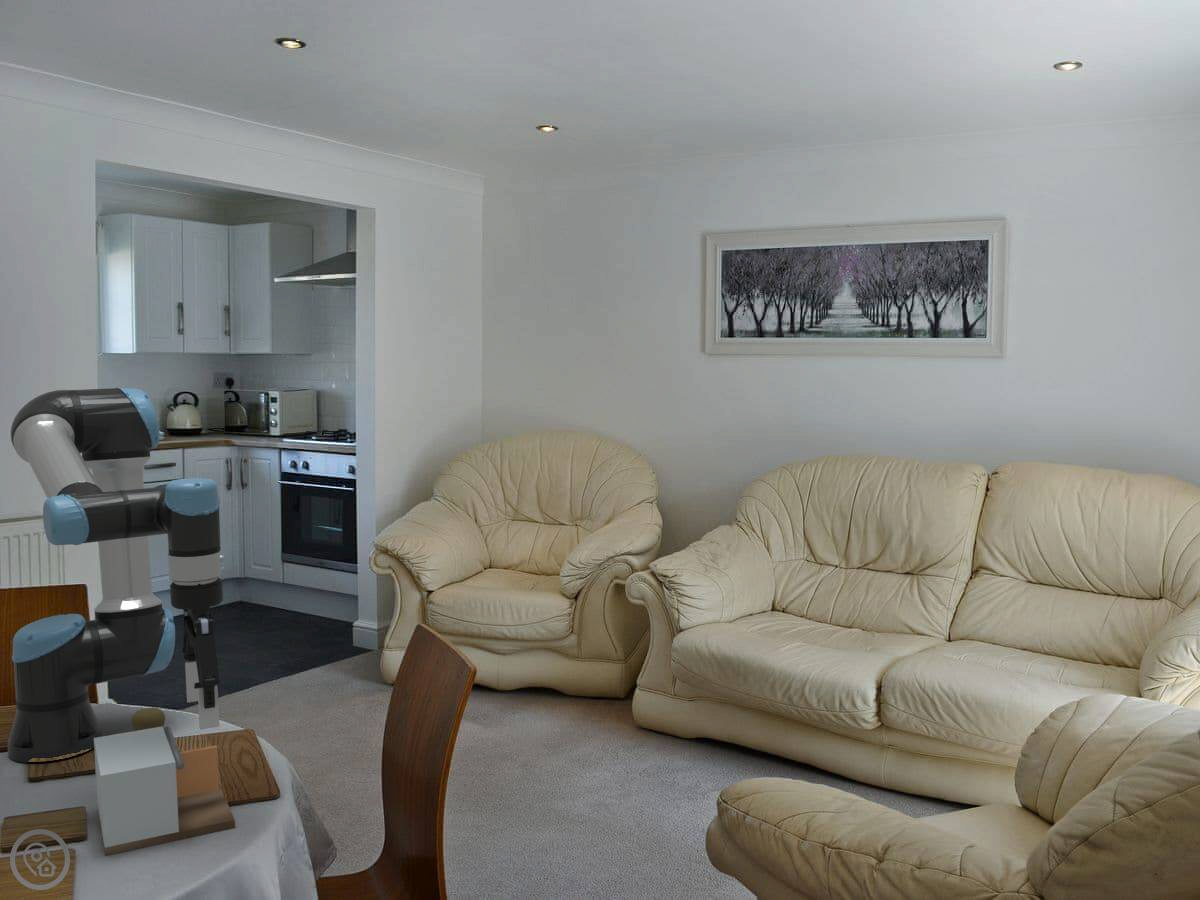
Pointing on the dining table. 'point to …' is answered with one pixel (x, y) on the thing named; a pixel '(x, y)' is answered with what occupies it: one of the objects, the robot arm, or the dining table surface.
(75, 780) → the dining table surface
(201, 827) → the walnut board
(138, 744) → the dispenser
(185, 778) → the orange rectangular panel
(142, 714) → the olive brown ellipsoid
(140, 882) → the dining table surface
